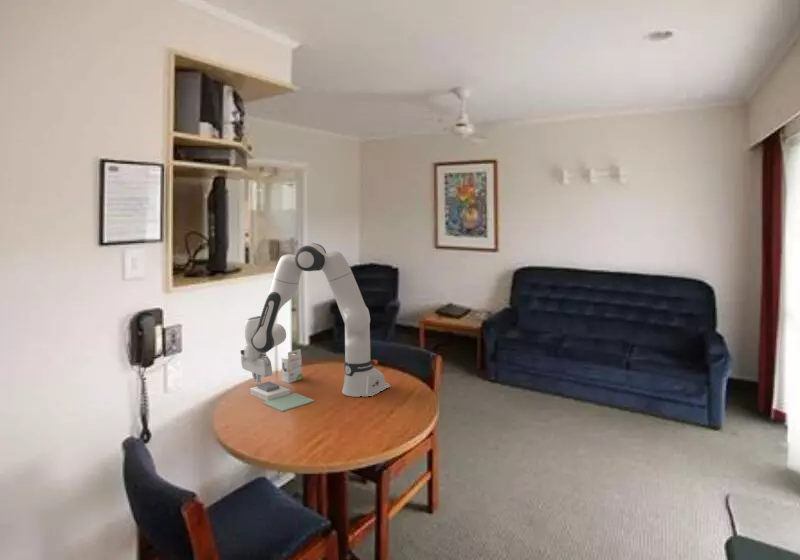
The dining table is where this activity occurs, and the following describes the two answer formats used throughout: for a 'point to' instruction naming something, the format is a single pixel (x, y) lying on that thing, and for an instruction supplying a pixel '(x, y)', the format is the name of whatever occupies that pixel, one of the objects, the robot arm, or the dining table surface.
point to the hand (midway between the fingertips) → (257, 382)
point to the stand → (269, 393)
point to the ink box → (292, 367)
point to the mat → (288, 402)
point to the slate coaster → (268, 386)
